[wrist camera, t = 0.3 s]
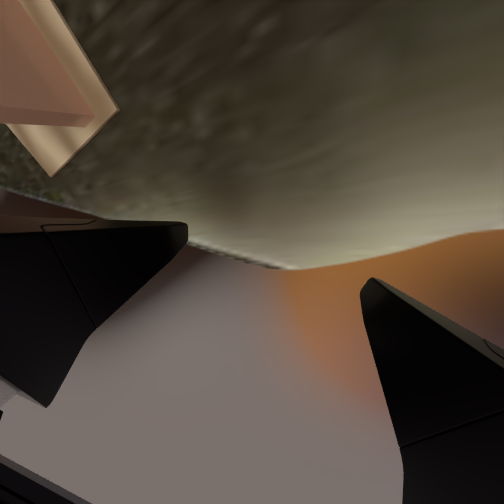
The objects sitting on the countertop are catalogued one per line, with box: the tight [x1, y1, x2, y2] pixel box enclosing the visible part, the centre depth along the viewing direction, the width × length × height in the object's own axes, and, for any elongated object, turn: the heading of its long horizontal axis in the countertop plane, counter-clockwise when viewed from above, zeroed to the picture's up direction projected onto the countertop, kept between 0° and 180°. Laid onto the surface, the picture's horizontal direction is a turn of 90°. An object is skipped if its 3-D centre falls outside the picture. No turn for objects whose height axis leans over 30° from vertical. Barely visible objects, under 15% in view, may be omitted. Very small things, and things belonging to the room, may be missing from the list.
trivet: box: [6, 0, 120, 177], centre depth 22 cm, size 18×12×1 cm, turn 116°
